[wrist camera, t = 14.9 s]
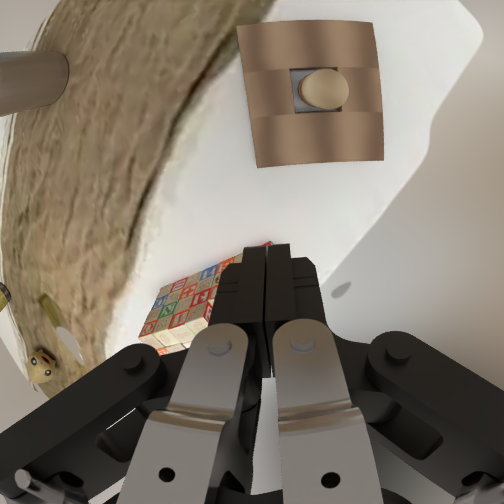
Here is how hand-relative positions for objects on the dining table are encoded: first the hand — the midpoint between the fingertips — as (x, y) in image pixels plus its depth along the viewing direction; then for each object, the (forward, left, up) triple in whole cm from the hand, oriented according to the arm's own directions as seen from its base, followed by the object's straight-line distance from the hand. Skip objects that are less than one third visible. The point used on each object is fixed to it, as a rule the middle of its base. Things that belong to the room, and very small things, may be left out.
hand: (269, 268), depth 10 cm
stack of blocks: (-10, -21, -29) cm, 38 cm away
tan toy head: (-72, -47, -29) cm, 91 cm away
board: (+6, +6, -29) cm, 30 cm away
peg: (+6, +6, -29) cm, 30 cm away
